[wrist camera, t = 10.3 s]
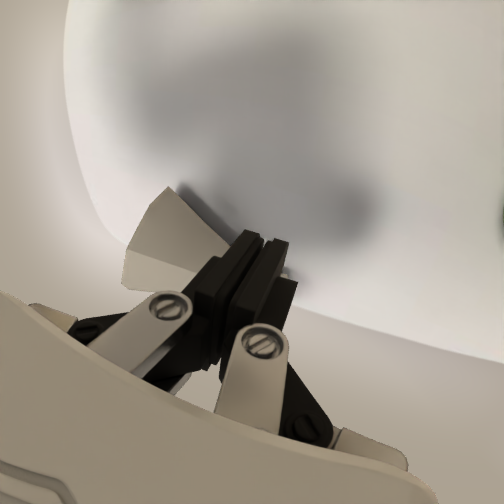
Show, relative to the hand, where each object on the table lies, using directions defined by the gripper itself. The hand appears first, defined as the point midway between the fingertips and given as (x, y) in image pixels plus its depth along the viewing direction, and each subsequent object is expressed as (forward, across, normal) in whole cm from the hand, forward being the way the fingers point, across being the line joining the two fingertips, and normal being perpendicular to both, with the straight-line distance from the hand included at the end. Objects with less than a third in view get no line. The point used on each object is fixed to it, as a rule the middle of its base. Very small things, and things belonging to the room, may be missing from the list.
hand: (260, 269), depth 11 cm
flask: (+5, +9, +4) cm, 11 cm away
